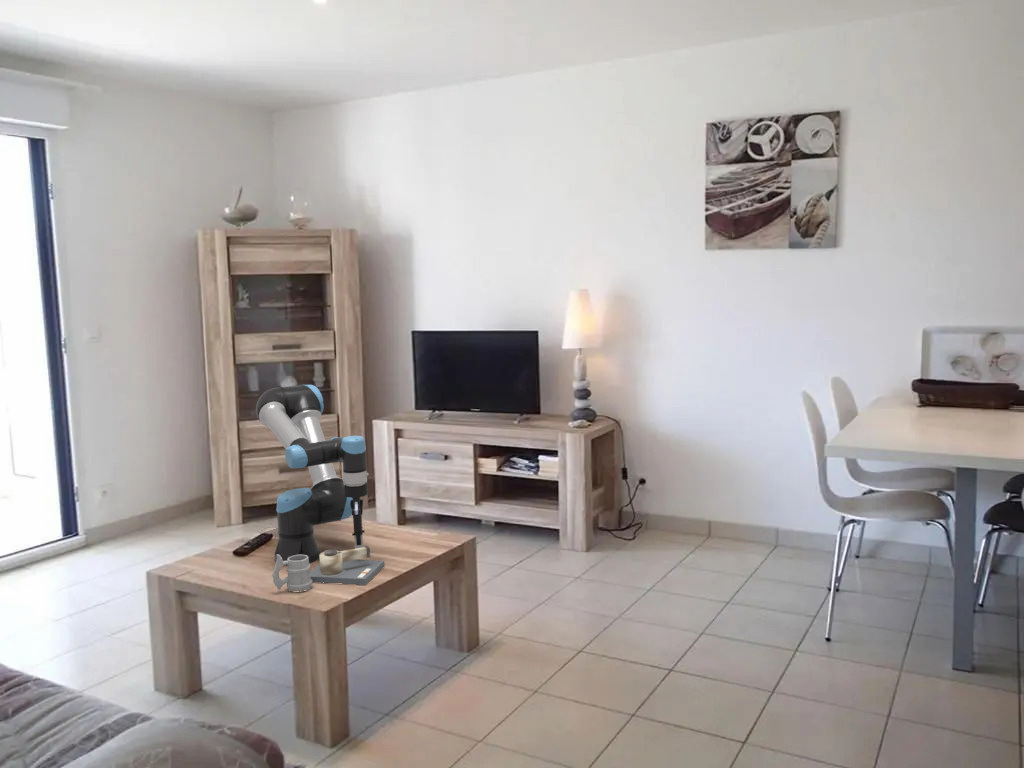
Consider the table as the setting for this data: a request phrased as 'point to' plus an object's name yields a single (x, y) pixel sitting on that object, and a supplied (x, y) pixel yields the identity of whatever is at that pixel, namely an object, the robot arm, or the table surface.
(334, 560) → the lever
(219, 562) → the table surface
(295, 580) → the mug
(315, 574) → the grey base plate
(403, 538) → the table surface
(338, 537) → the table surface
